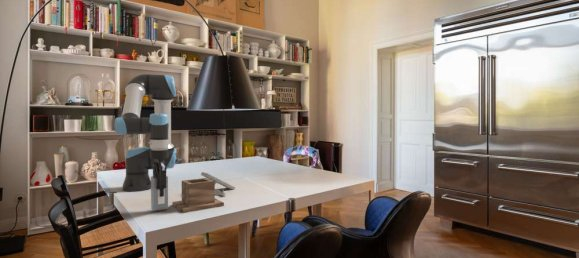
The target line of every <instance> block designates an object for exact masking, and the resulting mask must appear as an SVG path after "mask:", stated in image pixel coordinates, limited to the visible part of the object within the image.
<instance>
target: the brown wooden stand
mask: <svg viewBox="0 0 579 258" xmlns="http://www.w3.org/2000/svg"><path fill="white" fill-rule="evenodd" d="M215 187H216V184H215V181H213V180H210V179H208V178H206V177H202V178H193V179H183V180H181V200H175V201H172V207H174V208H176V209H177V210H179V212H181V213H183V214H185V213H191V212H196V211H201V210H208V209H214V208H220V207H225V202H223V201H222V200H219V199H218V198H216V194H215V189H216V188H215Z"/></svg>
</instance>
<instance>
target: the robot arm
mask: <svg viewBox="0 0 579 258" xmlns="http://www.w3.org/2000/svg"><path fill="white" fill-rule="evenodd" d="M175 84H176V83H175V78H174V76H172V75H170V74H169V75H167V74H153V73H150V74H149V73H142V74H138V75H135V76H134V77H133V78H131V79H130V80H129V81H128V82H127V84H126V85H125V88H124V93H125V99H124V104H123V110H122V112H121V116H120V117H116V118H115V119H114V132H115V134H117V135H125V136H126V135H149V141H148V145H149V147H148V146H140V147H133V148H129V149H127V150H126V152H125V178H124V180H123V183H122V191H125V192H140V191H141V192H142V191H145V190H151V176H150V174H149V170H152V177H153V176H158V188H157V190H158V204H164V203H165V188H166V176H167V170H169V169H173V168H174V167H175V165H176V157H177V148H175V145H174V144H173V143H172V108H171V107H172V105H171V103H172V102H173V101H174V98H175V97H177V91H176V85H175ZM144 96H147V97H151V98H150V100H151V101H152V102H154V105H153V107H154V113H150V114H149V117H141V111H142V104H143V98H144Z"/></svg>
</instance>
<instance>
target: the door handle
mask: <svg viewBox="0 0 579 258" xmlns="http://www.w3.org/2000/svg"><path fill="white" fill-rule="evenodd" d="M200 175H201V176H203V178H208V179H210V180H213V181H215V185H216V184H218V185H220V186H223V187H225V188H226V189H230V190H233V191H234V190H236V186H233V185H232V184H230V183H227V181H226V182H225V181H224V180H222V179H219V178H218V177H215V176H214V175H212V174H209V173H208V172H203V171H202V172H201V173H200ZM215 195H218V196H221V197H224V198H225V197H226V195H227V192H226V191H222V190H219V189H216V188H215Z"/></svg>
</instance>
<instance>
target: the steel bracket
mask: <svg viewBox="0 0 579 258" xmlns="http://www.w3.org/2000/svg"><path fill="white" fill-rule="evenodd" d="M150 180H151V188H150V209H151V210H153V211H159V210H161V211H162V210H166V209H169V176H168V175H166V188H165V203H164V204H158V190H157V188H158V176H153V175H152V176H150Z"/></svg>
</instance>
